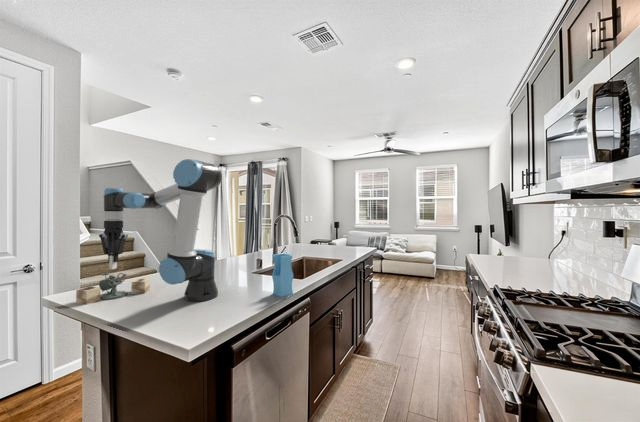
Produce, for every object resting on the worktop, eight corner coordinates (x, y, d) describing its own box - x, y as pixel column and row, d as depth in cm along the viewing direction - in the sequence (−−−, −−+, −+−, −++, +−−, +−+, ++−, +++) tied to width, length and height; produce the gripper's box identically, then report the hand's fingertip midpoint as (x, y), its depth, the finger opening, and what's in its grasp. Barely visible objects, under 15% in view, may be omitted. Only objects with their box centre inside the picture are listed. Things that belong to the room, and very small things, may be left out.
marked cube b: (100, 300, 127) (100, 286, 127) (86, 304, 121) (86, 290, 121) (90, 299, 128) (90, 285, 128) (76, 303, 123) (76, 289, 122)
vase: (271, 293, 141) (272, 254, 140) (284, 290, 146) (284, 253, 146) (280, 297, 135) (280, 256, 134) (293, 294, 140) (293, 255, 140)
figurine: (115, 300, 127) (115, 274, 127) (93, 299, 127) (93, 274, 127) (131, 293, 138) (132, 269, 138) (110, 292, 138) (110, 269, 138)
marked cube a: (149, 290, 143) (149, 278, 143) (144, 293, 138) (144, 281, 138) (136, 290, 142) (137, 278, 142) (131, 294, 136) (131, 281, 136)
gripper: (132, 220, 135) (131, 267, 136) (107, 219, 136) (106, 266, 136) (120, 220, 128) (119, 271, 128) (94, 220, 129) (93, 270, 129)
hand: (113, 268), depth 132 cm, fingers closed
